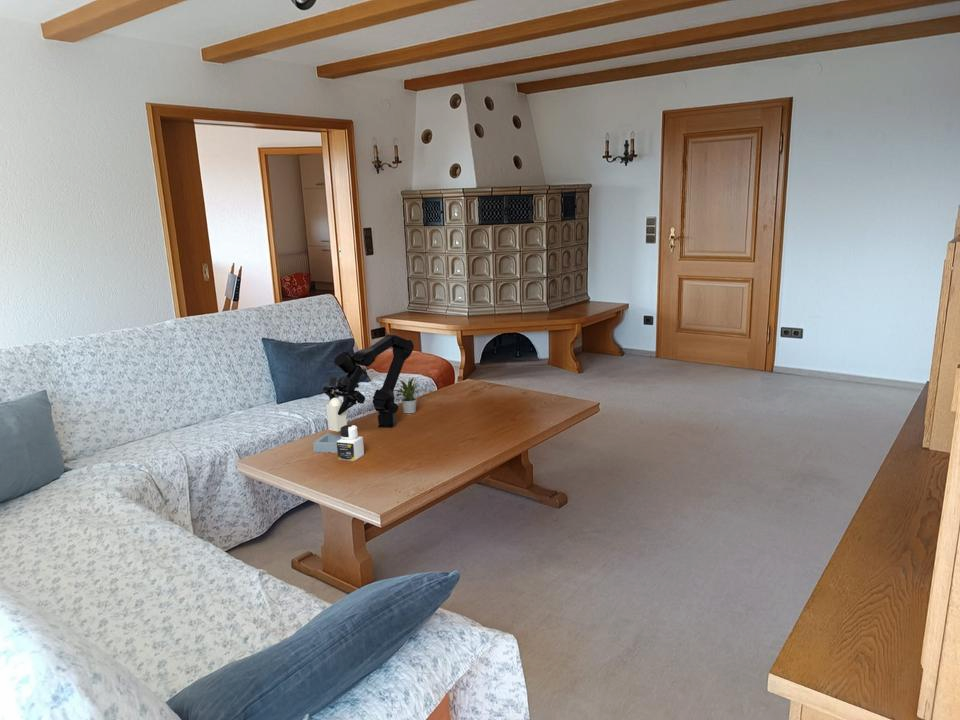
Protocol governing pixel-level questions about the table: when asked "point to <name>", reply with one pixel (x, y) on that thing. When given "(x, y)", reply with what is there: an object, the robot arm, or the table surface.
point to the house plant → (408, 396)
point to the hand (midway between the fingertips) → (333, 413)
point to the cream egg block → (335, 415)
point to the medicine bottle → (350, 444)
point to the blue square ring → (327, 443)
